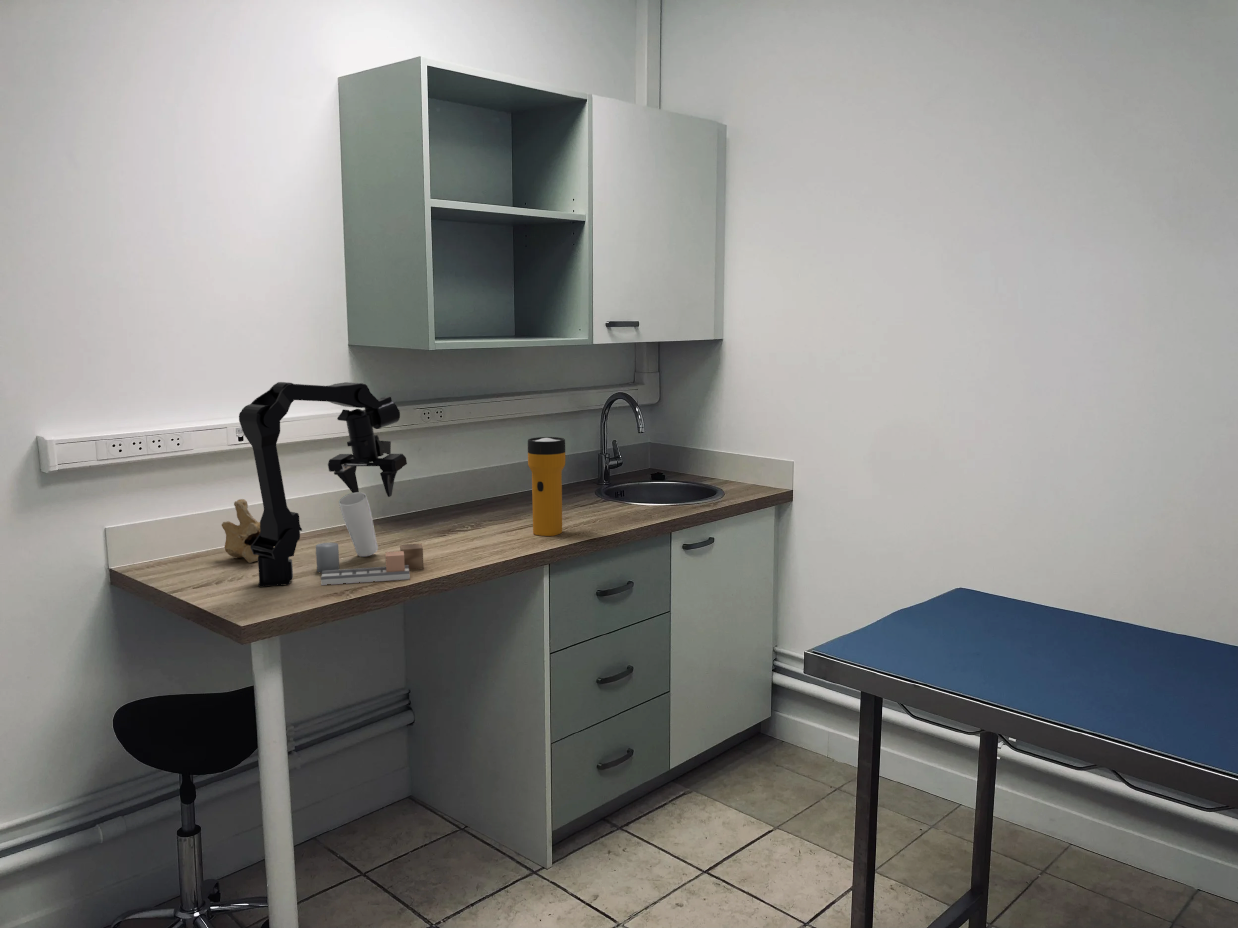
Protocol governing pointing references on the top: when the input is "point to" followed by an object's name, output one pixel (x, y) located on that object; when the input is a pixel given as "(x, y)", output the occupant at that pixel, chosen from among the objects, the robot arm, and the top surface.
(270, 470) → the robot arm
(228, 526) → the vertebra
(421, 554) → the walnut block
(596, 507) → the top surface
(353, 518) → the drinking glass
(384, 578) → the counter rail
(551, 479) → the flashlight
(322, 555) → the grey upright block
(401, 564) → the counter slider
